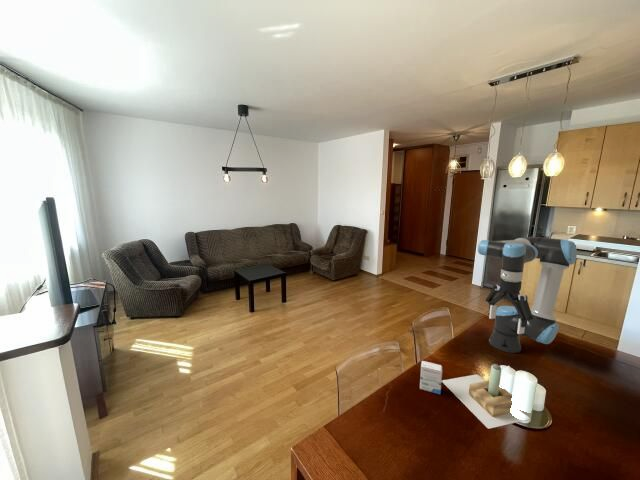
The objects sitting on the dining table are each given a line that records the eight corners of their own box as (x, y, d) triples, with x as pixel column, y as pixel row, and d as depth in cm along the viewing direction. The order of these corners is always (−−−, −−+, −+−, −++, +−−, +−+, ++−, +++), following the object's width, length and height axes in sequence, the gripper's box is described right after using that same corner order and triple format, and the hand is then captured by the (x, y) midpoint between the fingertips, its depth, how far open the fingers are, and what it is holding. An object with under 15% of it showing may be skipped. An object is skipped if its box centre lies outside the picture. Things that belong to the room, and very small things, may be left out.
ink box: (440, 388, 117) (442, 364, 115) (440, 396, 113) (442, 371, 111) (420, 382, 121) (421, 359, 119) (419, 389, 116) (420, 366, 114)
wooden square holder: (468, 394, 113) (469, 384, 112) (491, 389, 116) (492, 379, 115) (492, 416, 101) (493, 405, 101) (517, 411, 104) (518, 400, 103)
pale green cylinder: (484, 399, 110) (489, 363, 107) (491, 398, 111) (496, 362, 108) (491, 406, 106) (496, 369, 104) (498, 404, 107) (504, 368, 104)
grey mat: (440, 381, 121) (441, 380, 121) (477, 375, 126) (477, 374, 126) (488, 430, 96) (488, 428, 96) (531, 420, 101) (531, 418, 101)
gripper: (479, 271, 122) (475, 313, 126) (533, 291, 98) (526, 342, 102) (492, 270, 124) (488, 311, 128) (549, 288, 100) (541, 339, 104)
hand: (505, 325), depth 115 cm, fingers open, 13 cm apart
